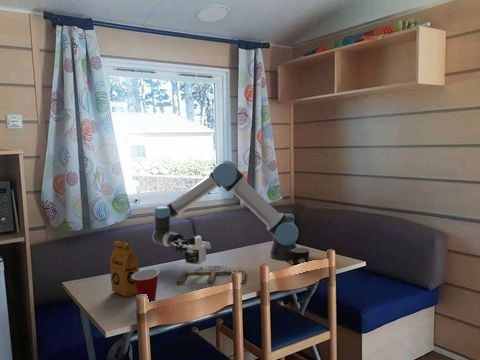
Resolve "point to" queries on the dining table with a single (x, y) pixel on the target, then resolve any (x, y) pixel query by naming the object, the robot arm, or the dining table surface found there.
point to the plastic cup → (146, 282)
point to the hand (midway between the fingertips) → (201, 248)
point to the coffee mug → (298, 255)
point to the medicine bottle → (196, 250)
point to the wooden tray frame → (204, 276)
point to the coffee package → (123, 269)
